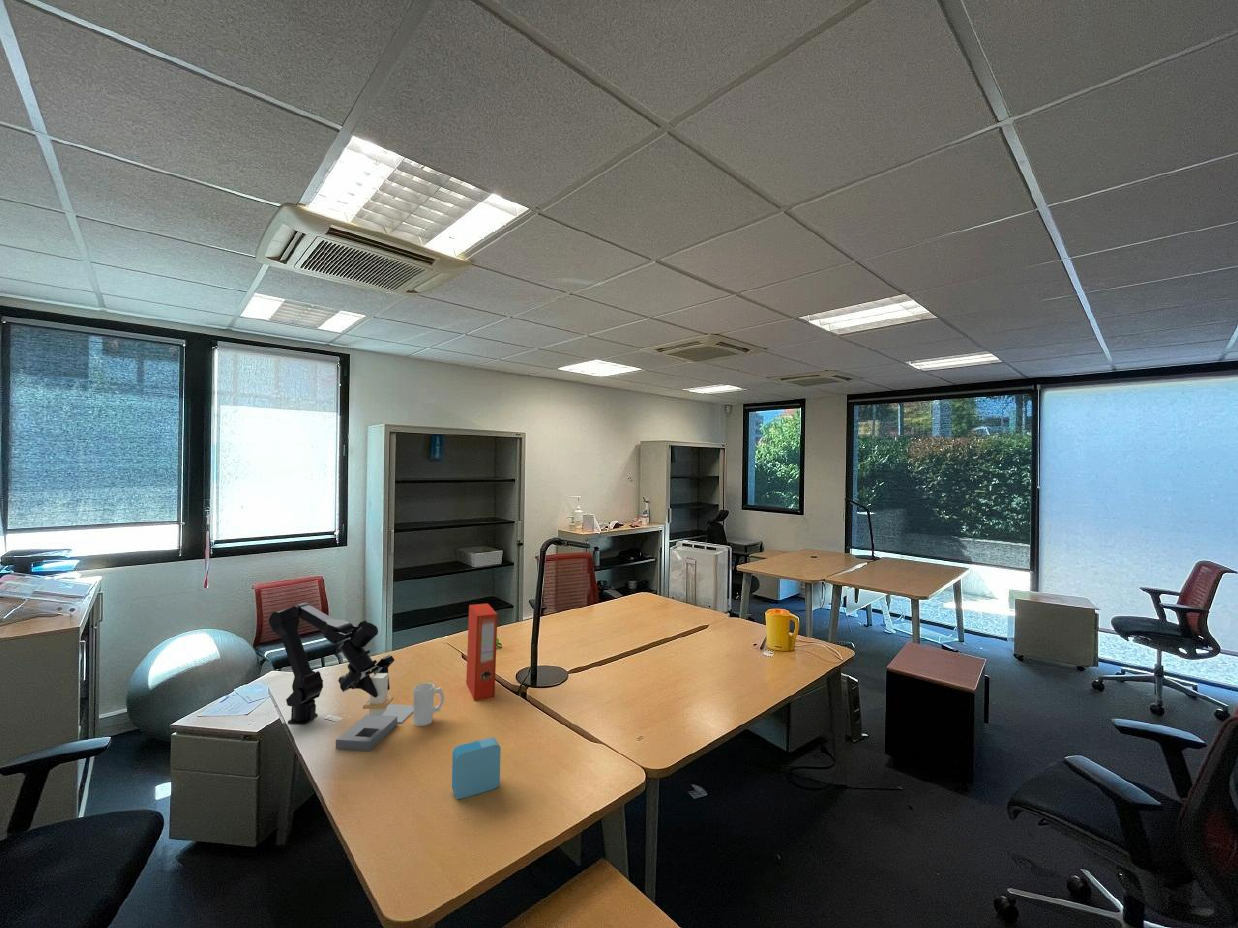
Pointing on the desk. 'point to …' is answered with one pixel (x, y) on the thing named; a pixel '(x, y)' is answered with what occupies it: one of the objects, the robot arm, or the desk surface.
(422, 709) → the mug
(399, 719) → the mat
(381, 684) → the white and tan block
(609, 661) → the desk surface
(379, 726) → the gray slab with hole
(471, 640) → the file binder
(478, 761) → the data package
